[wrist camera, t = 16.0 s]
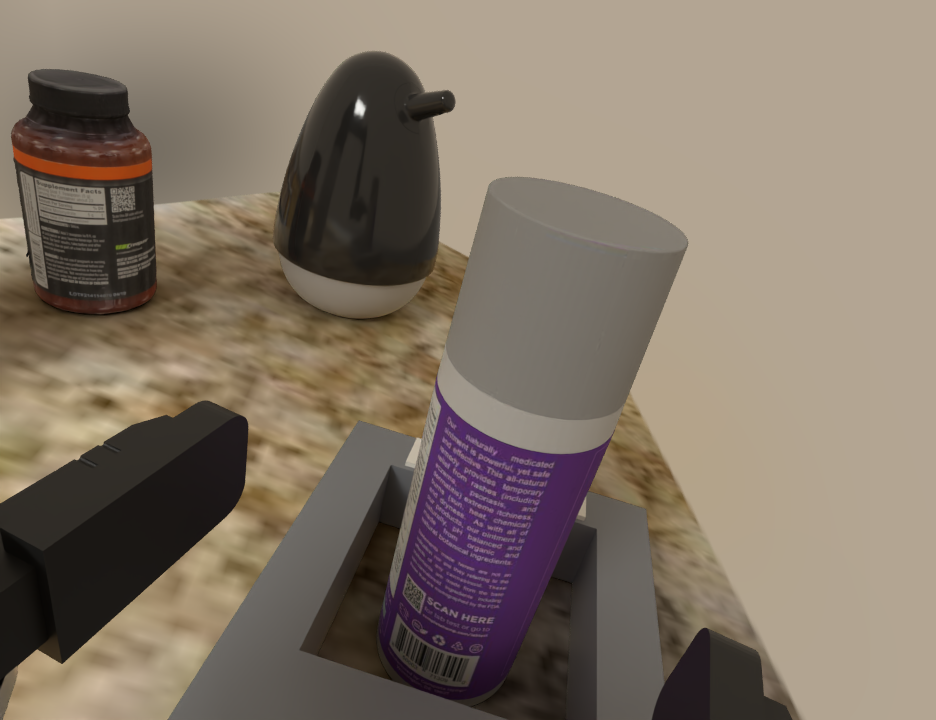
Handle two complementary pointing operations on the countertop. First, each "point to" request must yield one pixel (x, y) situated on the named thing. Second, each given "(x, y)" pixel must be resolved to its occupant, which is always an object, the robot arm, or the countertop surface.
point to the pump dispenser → (363, 190)
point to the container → (518, 423)
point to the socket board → (332, 569)
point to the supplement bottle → (85, 194)
